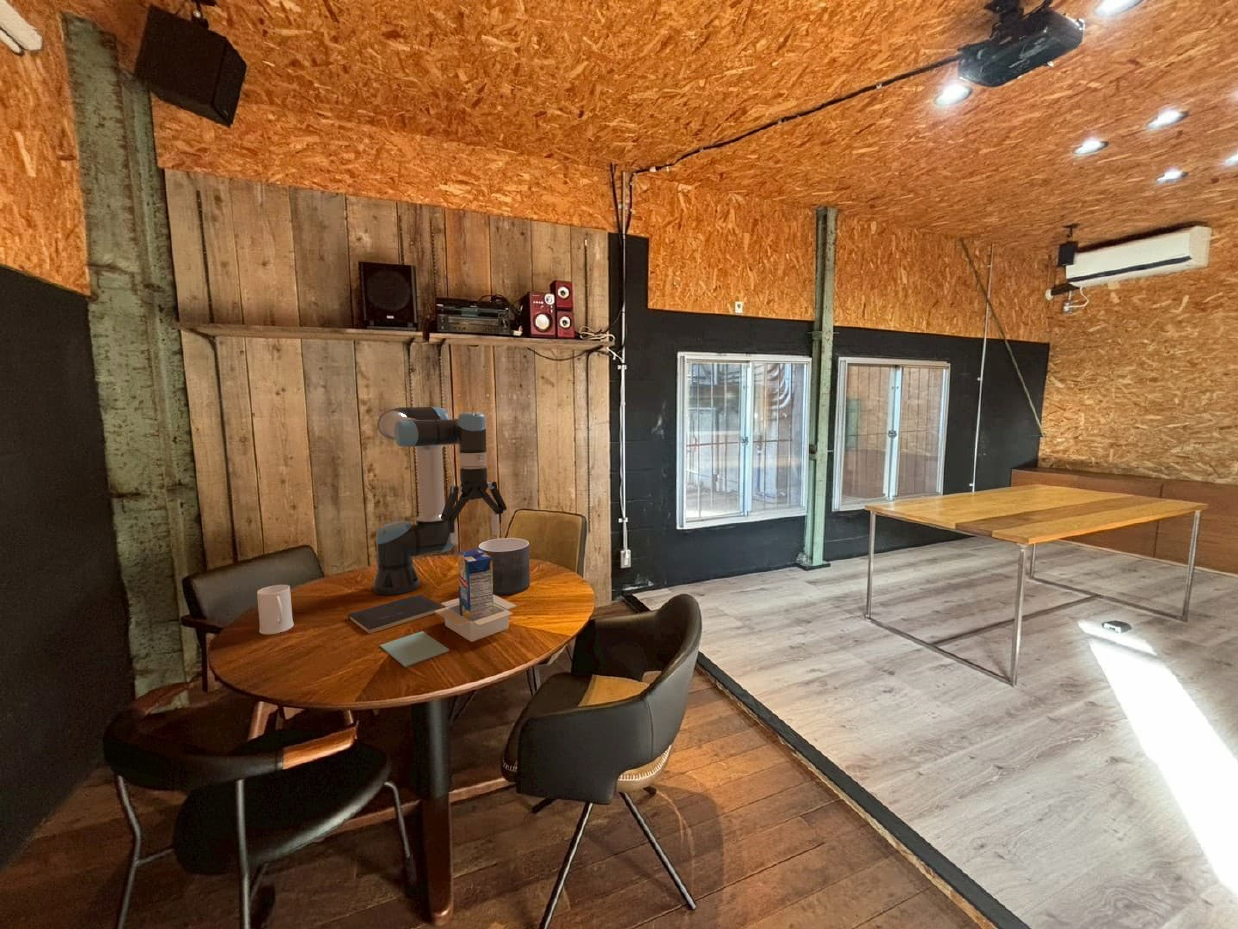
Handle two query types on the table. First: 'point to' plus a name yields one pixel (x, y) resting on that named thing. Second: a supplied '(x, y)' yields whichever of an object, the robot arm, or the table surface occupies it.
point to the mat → (414, 648)
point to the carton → (480, 626)
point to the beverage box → (475, 584)
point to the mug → (275, 609)
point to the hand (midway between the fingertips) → (476, 539)
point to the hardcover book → (394, 613)
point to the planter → (508, 564)
